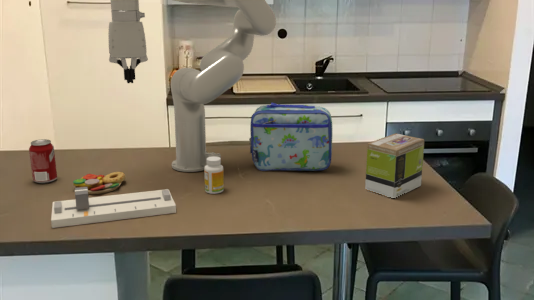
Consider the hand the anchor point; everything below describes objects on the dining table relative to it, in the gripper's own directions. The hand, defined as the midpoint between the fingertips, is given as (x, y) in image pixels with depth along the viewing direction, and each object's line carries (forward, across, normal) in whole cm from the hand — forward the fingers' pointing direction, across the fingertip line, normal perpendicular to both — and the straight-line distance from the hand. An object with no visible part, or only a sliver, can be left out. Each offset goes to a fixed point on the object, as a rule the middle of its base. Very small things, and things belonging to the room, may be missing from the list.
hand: (130, 82), depth 155 cm
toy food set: (+30, +11, +5) cm, 32 cm away
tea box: (+29, -70, +32) cm, 82 cm away
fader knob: (+27, +16, +24) cm, 39 cm away
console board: (+29, +8, +24) cm, 39 cm away
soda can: (+29, +26, -5) cm, 39 cm away
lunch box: (+29, -48, +6) cm, 57 cm away
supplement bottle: (+29, -20, +18) cm, 40 cm away
